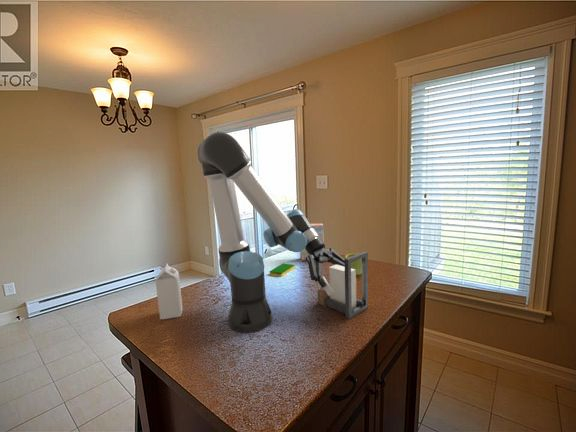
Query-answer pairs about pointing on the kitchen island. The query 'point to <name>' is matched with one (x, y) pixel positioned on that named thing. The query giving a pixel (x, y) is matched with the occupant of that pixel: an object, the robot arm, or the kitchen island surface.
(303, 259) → the cracker box
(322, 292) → the offcut stack
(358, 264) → the plant pot
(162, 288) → the milk carton
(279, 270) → the dish sponge
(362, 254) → the frame
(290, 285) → the kitchen island surface
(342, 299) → the white block
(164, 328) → the kitchen island surface
